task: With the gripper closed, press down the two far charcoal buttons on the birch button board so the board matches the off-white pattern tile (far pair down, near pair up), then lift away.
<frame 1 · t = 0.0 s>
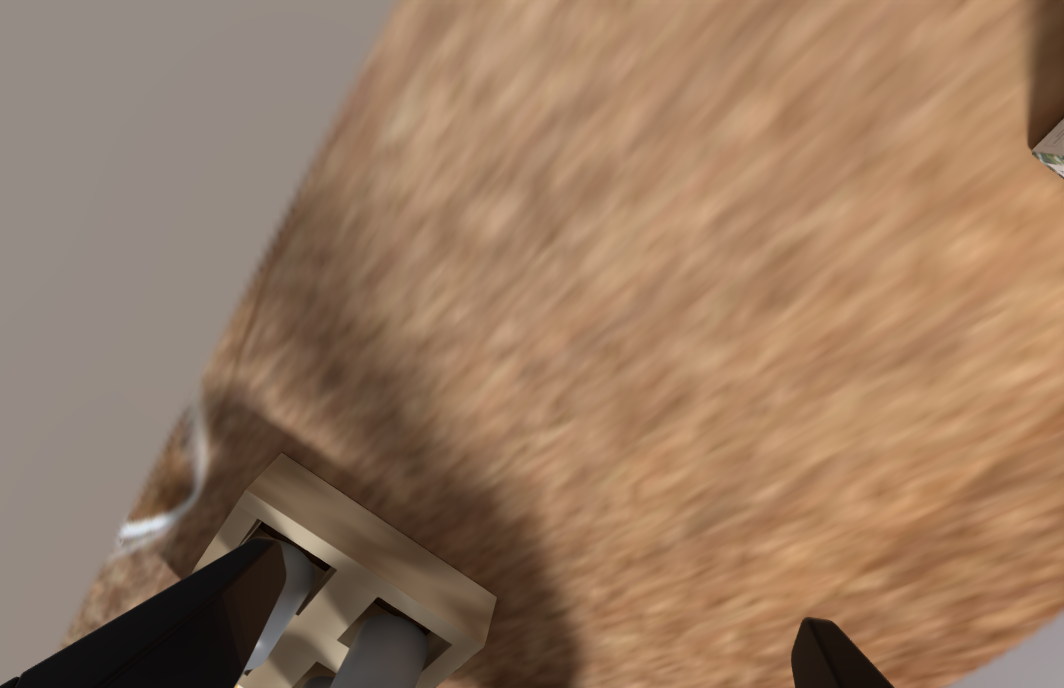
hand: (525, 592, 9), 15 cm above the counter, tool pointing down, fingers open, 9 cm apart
button board: (334, 593, 32), on the counter
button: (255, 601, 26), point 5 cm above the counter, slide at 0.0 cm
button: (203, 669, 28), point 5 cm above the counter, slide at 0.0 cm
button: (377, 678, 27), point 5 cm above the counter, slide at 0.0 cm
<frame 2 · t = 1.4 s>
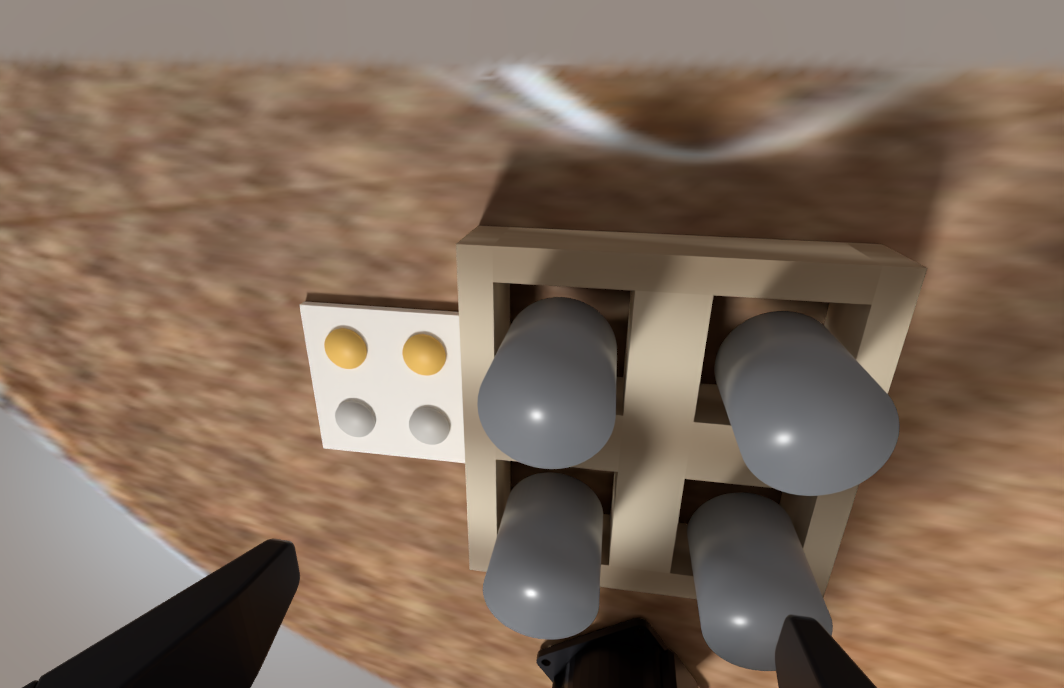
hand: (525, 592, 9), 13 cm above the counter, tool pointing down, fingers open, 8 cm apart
button board: (650, 405, 22), on the counter
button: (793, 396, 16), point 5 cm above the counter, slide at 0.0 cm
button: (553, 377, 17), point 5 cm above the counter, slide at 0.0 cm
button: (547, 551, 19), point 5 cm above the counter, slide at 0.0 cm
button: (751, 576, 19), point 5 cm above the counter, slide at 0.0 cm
pattern tile: (392, 383, 24), on the counter
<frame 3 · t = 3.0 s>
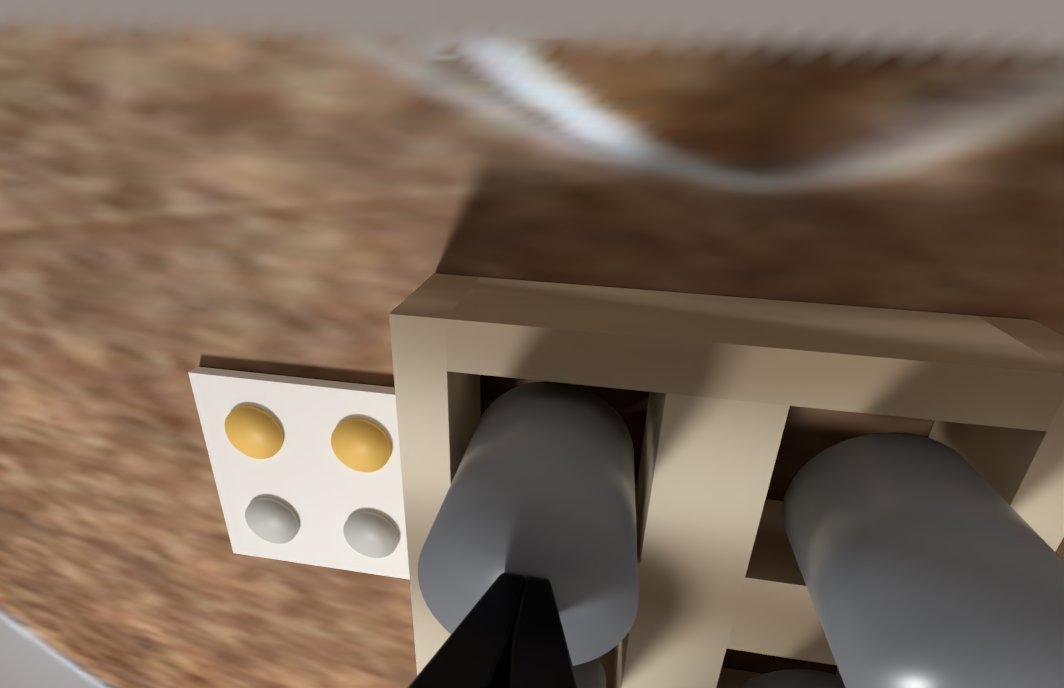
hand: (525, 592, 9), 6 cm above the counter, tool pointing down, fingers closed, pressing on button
button board: (673, 521, 16), on the counter
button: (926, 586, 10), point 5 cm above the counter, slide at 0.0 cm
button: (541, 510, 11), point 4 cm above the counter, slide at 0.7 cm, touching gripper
pattern tile: (321, 475, 17), on the counter
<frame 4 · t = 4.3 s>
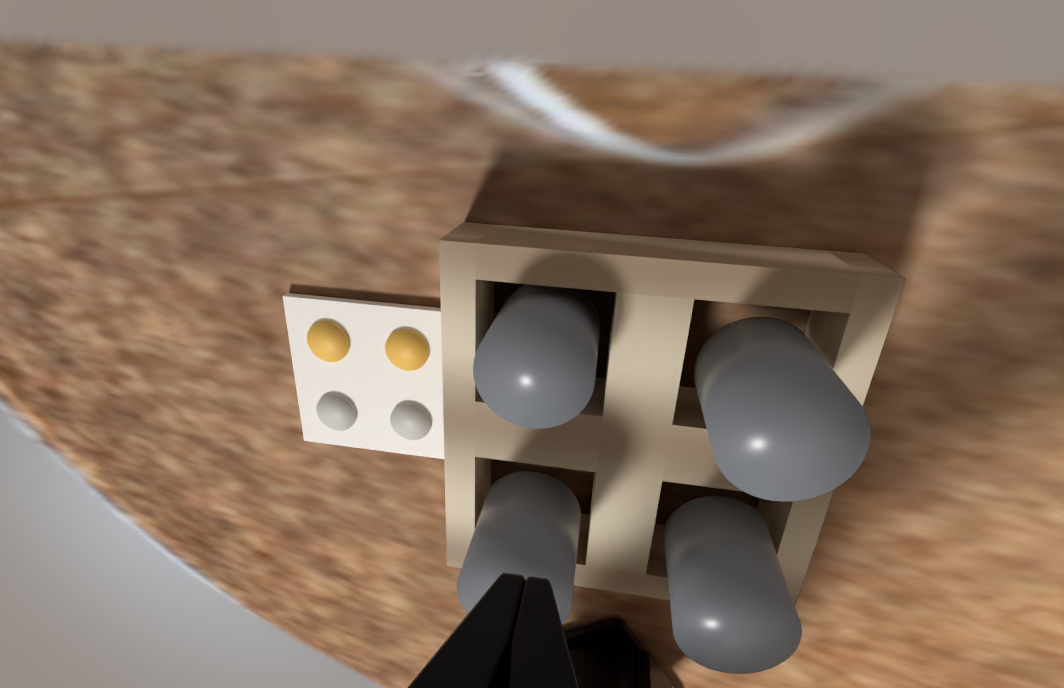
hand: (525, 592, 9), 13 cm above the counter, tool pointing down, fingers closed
button board: (631, 407, 22), on the counter
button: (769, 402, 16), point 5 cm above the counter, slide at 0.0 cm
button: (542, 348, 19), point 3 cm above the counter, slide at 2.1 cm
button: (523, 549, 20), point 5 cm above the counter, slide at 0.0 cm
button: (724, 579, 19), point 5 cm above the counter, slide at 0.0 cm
pattern tile: (374, 377, 23), on the counter
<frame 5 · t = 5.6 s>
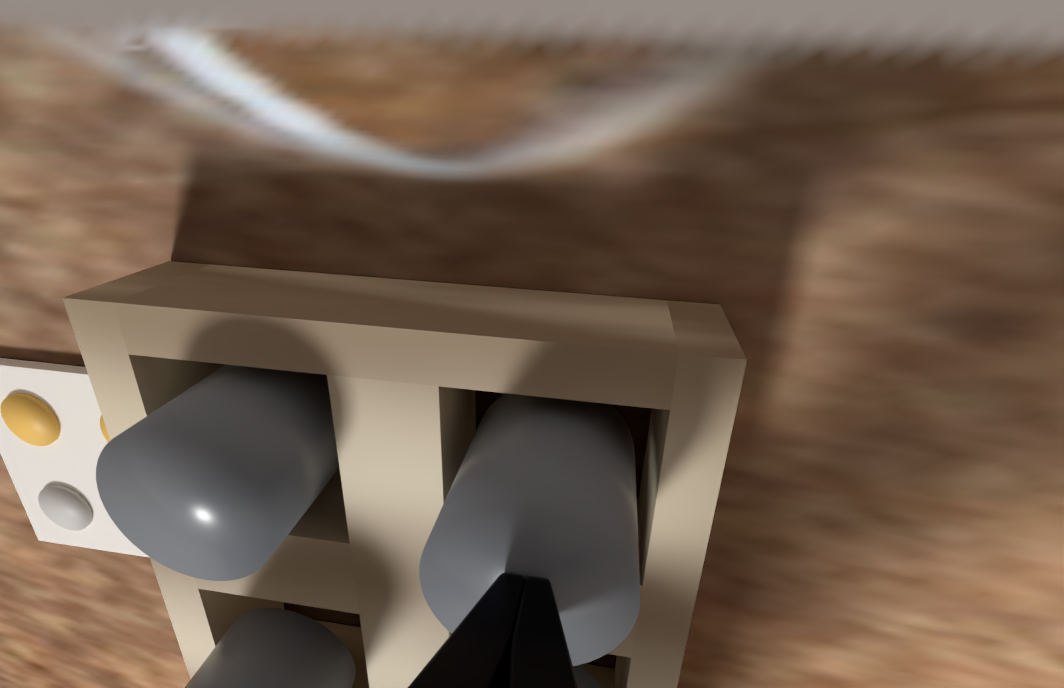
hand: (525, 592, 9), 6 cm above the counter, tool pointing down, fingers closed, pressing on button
button board: (437, 506, 16), on the counter
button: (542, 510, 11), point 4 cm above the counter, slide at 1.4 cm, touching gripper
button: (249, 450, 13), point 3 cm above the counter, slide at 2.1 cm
pattern tile: (109, 463, 18), on the counter
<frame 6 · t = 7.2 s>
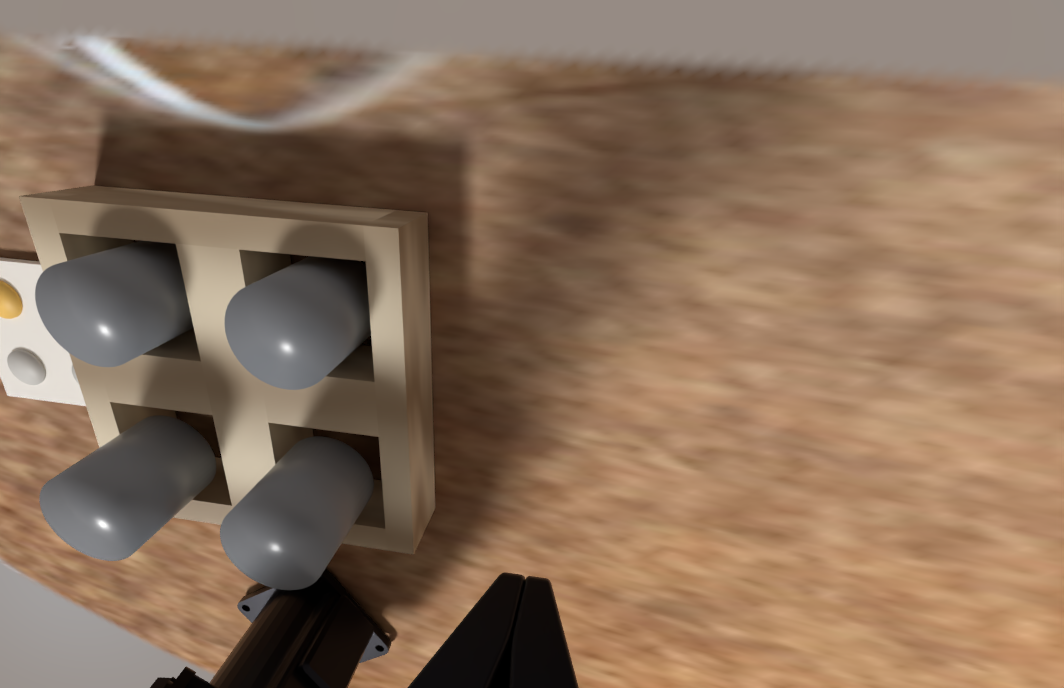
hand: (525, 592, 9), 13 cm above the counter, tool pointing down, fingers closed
button board: (278, 360, 24), on the counter
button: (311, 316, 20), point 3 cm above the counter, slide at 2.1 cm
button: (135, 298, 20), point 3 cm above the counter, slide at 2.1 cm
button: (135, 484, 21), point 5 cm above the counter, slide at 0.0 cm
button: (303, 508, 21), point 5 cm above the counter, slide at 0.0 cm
pattern tile: (57, 334, 25), on the counter
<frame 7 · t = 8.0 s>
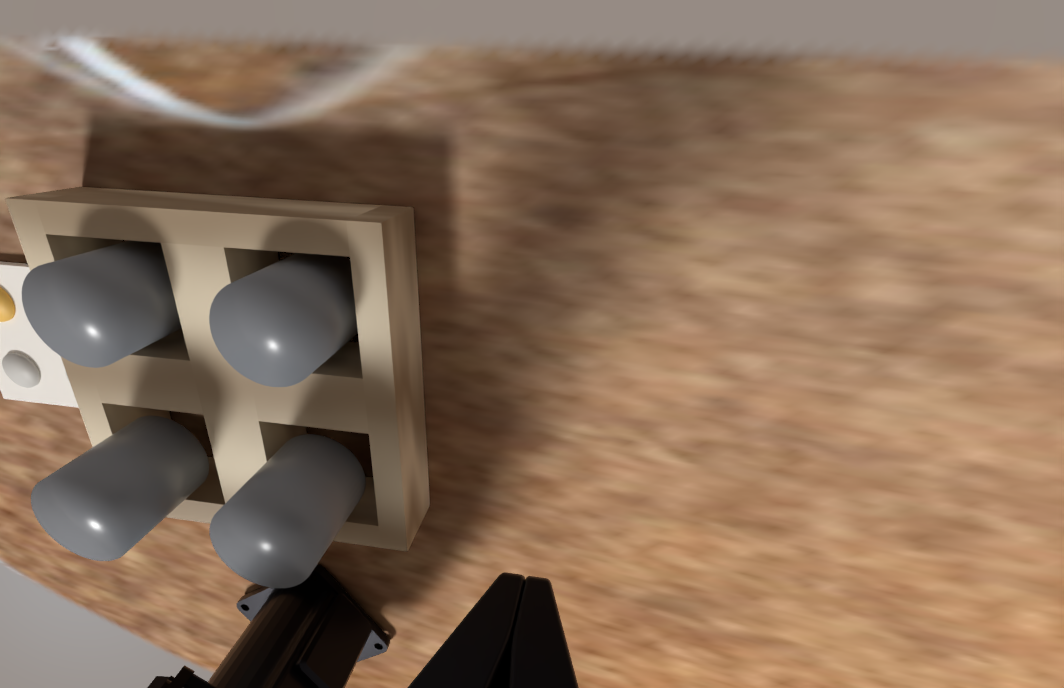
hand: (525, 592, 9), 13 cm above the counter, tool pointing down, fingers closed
button board: (269, 359, 24), on the counter
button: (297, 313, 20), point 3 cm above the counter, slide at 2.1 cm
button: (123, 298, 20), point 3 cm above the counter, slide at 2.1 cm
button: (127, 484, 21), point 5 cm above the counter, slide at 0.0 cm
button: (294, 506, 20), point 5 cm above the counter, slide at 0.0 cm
pattern tile: (50, 336, 25), on the counter
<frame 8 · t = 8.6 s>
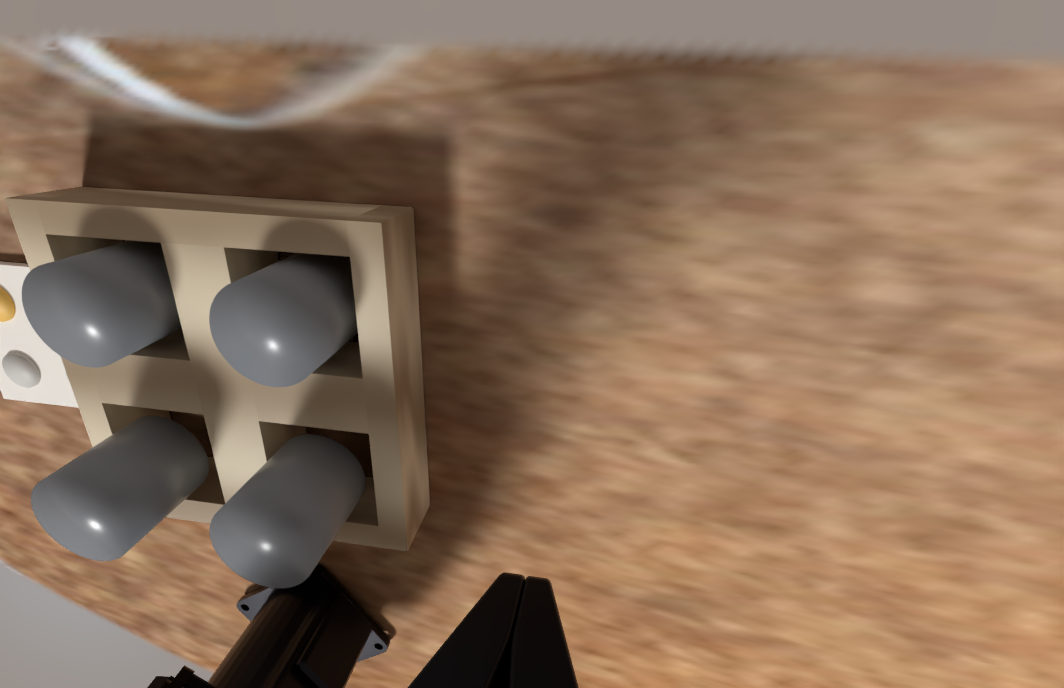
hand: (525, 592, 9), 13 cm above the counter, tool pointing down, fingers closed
button board: (269, 359, 24), on the counter
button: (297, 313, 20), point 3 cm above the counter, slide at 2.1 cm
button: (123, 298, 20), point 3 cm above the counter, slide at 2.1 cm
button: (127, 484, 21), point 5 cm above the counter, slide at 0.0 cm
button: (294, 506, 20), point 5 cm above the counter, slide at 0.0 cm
pattern tile: (50, 336, 25), on the counter
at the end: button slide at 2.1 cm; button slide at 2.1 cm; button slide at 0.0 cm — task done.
